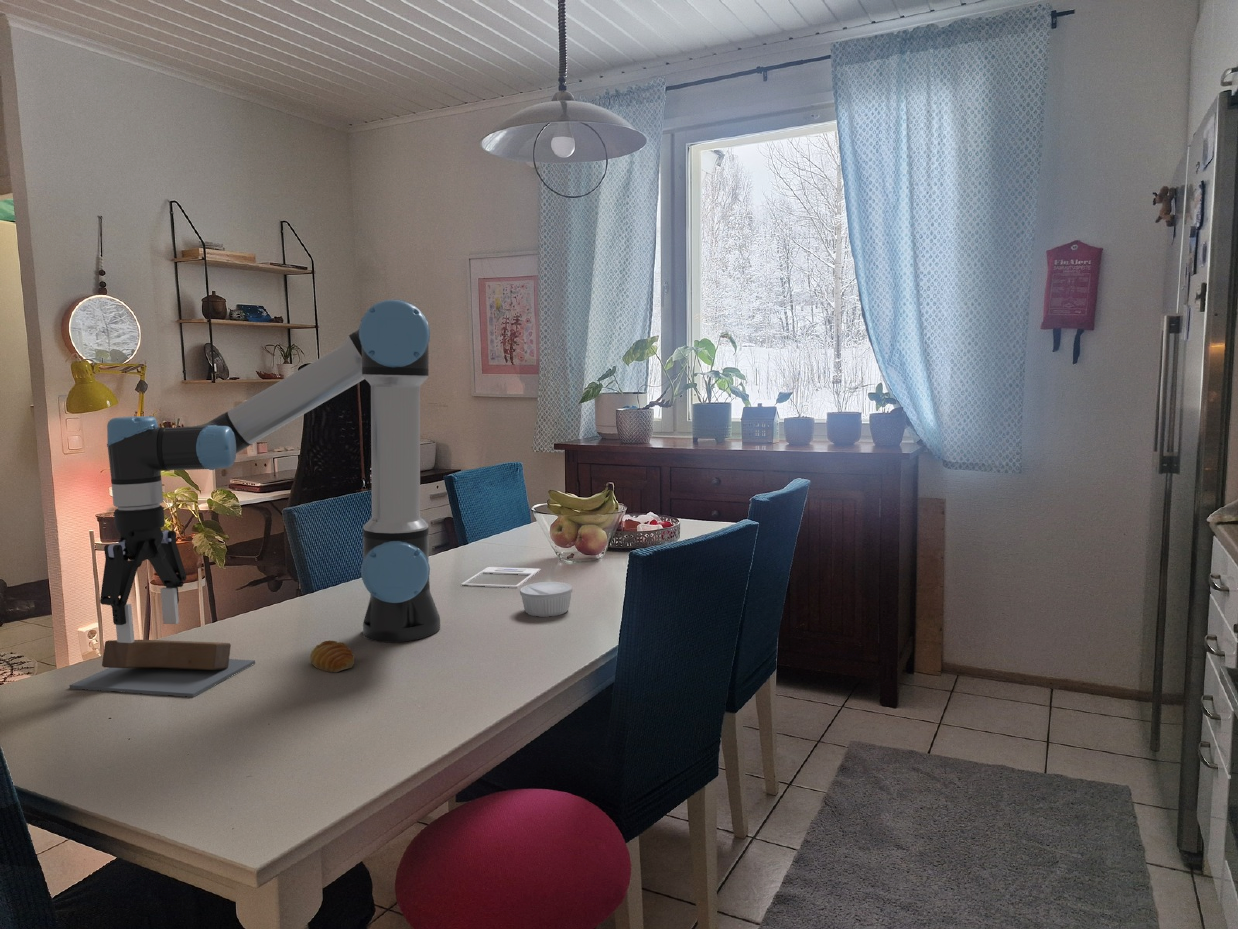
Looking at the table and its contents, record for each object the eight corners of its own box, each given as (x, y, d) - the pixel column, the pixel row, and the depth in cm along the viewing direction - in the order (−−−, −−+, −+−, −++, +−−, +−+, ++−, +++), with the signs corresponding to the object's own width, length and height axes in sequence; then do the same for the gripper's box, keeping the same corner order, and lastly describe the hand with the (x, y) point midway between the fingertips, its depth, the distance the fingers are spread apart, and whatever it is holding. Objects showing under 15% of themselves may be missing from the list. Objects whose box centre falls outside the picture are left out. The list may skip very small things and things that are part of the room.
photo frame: (540, 568, 220) (517, 585, 202) (540, 572, 220) (517, 590, 203) (488, 566, 223) (460, 583, 206) (488, 570, 223) (460, 587, 206)
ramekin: (511, 616, 180) (510, 592, 179) (535, 602, 190) (535, 579, 189) (558, 621, 175) (557, 596, 175) (581, 607, 186) (580, 583, 185)
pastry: (364, 668, 150) (363, 647, 149) (327, 678, 145) (325, 657, 145) (342, 655, 157) (341, 635, 156) (306, 664, 152) (305, 644, 152)
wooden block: (100, 667, 143) (196, 671, 140) (104, 640, 144) (199, 644, 141) (138, 665, 152) (229, 668, 149) (141, 639, 153) (232, 642, 150)
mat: (255, 663, 153) (255, 660, 153) (193, 697, 137) (193, 693, 137) (141, 657, 158) (141, 653, 158) (69, 688, 142) (69, 685, 142)
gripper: (167, 496, 156) (176, 613, 159) (65, 517, 135) (77, 652, 137) (202, 496, 155) (211, 614, 157) (104, 518, 133) (117, 654, 135)
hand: (149, 632), depth 147 cm, fingers open, 10 cm apart
